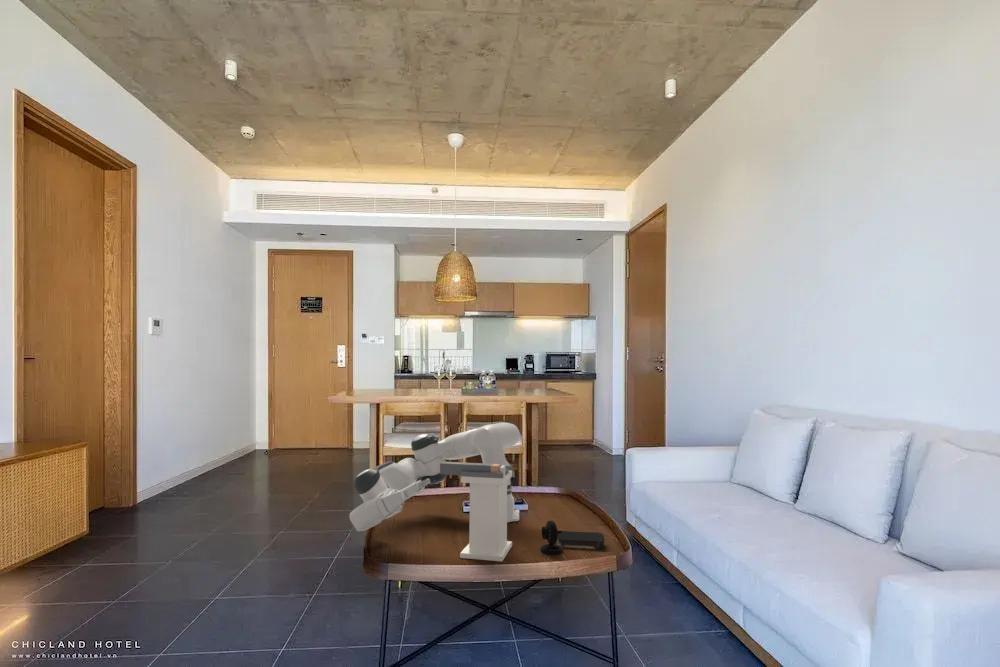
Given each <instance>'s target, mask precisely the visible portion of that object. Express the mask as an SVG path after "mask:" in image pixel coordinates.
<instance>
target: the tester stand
mask: <svg viewBox="0 0 1000 667" xmlns="http://www.w3.org/2000/svg"><path fill="white" fill-rule="evenodd" d="M512 476H513V465H510V466H505V465H500V473H488V472H468V471H462V472H461V475H460V481H461V482H460V483H462V484H465V483H466V484H469V531H468V532H469V534H468V535H469V536H468V537H469V539H468V540H469V543H468V544H466V546H465V547H464V548H463V550H461V552H460V554H459V557H460V559H468V560H469V559H471V560H481V561H492V562H503V561H504V559H505V558H506V556H507V555H508V553H509V551H510V550H511V548H512V547H513V541H510V540H508V522H507V480H508V479H509V478H510V479H511V478H512Z"/></svg>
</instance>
